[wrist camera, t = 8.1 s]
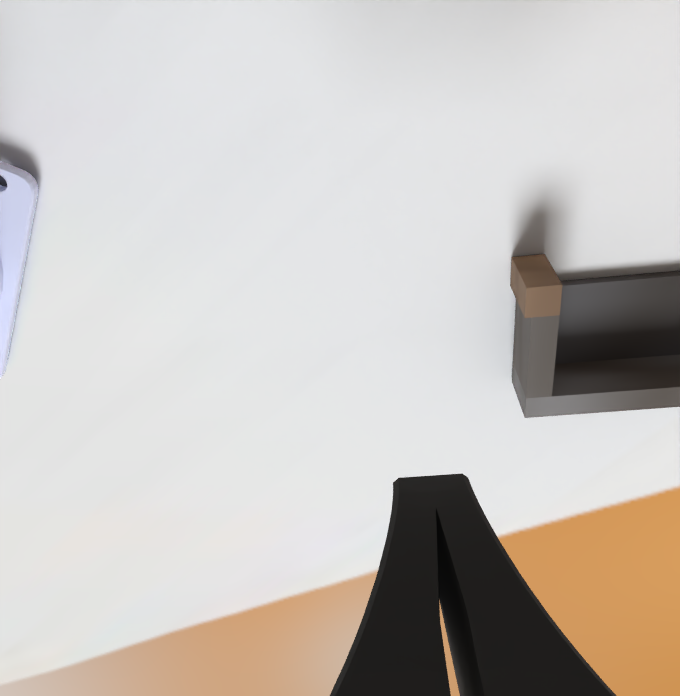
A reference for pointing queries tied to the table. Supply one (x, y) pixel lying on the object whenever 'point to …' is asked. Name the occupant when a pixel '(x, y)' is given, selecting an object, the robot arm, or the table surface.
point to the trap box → (594, 341)
